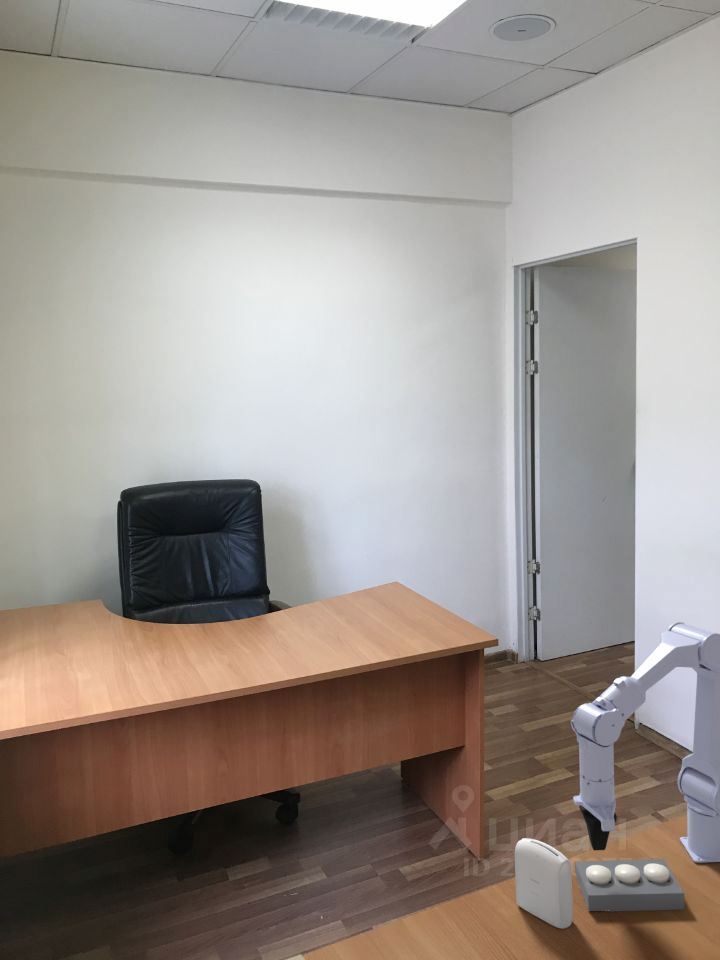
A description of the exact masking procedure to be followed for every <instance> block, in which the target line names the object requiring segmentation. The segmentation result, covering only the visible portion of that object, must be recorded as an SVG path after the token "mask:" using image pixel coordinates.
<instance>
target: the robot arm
mask: <svg viewBox="0 0 720 960" xmlns="http://www.w3.org/2000/svg"><path fill="white" fill-rule="evenodd" d="M659 641H660V642H659V645H658V646H657V647H656V649H654V651H652V653H651V654H650V655H649V656H648V657H647V658H646V659H645V660H644V662H643V663H642V664H641V665H640V666H638V668H637V669H636V670H635V671H634V673H632V675H631V676H625V675H623V676H619V677H617V678H615V679H614V681H613V683H612V684H611V685H609V687H608V688H606V689H605V691H603V692H602V693H601V694H600V695H599V696H598V697H596V698H595V700H593V701H592V702H588V703H583V704H581V705H579V706H578V707H577V708H576V709H575V711H574V713H573V717H572V719H571V720H570V725H571V729H572V730H573V732H574V733H575V734H576V742H577V743H578V752H579V754H578V756H579V757H578V758H579V760H578V761H579V788H580V789H579V795H574V796H572V797H573V798H572V799H573V803H574V804H575V806H578V808H579V810H580V812H581V815H582V817H583V819H584V822H585V825H586V829H587V833H588V838H589V842H590V845H591V848H592V850H593V851H605V850H606V849H607V845H608V841H609V836H610V833H611V832H615V830H616V827H615V826H616V822H617V819H618V816H617V814H616V812H615V811H616V805H617V803H616V802H617V800H616V797H615V763H614V762H615V760H614V759H615V753H614V750H615V747H614V743H615V742H617V740H619V738H620V735H621V732H622V729H623V728H624V726H625V724H626V721H627V719H629V718H630V717H631V716H632V715H633V714H634V713H635V712H636V711H637V710H638V709H639V708H640V707H641V706H643V704H644V703H645V702H646V697H647V696H646V692H647V691H648V690H650V689H651V688H652V687H653V686H654V685H656V684H658V682H660V681H661V680H662V679H663V678H664V677H666V676H667V675H669V674H670V673H671V672H672V671H673V670H675V669H676V668H692V670H694V671H695V672H696V687H695V688H696V689H695V708H694V709H695V710H694V728H693V745H692V746H693V747H692V753H689V754H688V755H686V756H685V757H684V758H682V759H681V760H682V761H681V769H680V771H679V773H678V775H677V783H676V784H677V787H678V790H679V792H680V793H681V794H682V795H683V799H684V801H685V802H686V803H687V804H686V806H687V815H686V817H687V827H686V828H687V829H686V830H687V831H686V832H687V836H681V837H679V841H680V842H681V844H682V846H683V847H684V849H685V850H686V851H687V853H688V855H689V856H690V858H691V859H692V861H693V862H694V863H697V864H698V863H720V633H718V632H711V631H709V630H705V629H702V628H699V627H695V626H691V625H689V624H685V622H682V621H675V622H673V623H671V624H670V625H669V626H668V627H667V629H666V630H665V631H663V632H662V633H661V634H660V640H659Z"/></svg>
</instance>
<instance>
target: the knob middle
mask: <svg viewBox="0 0 720 960" xmlns="http://www.w3.org/2000/svg"><path fill="white" fill-rule="evenodd" d="M615 877H616V879H617V880H619V881H620V883H627V884H634V883H637V882H639V880H640V871H639V869H638V868H636V867H634V866H632V865H628V864H621V865H618V866H616V868H615Z"/></svg>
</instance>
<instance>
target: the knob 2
mask: <svg viewBox="0 0 720 960" xmlns="http://www.w3.org/2000/svg"><path fill="white" fill-rule="evenodd" d="M644 877H645V878H646V879H647V880H649V882H655V883H664V882H667V881H668V880H669V870H668V869H667V868H666V867H665V866H663V865H660V864H655V863H652V864H647V865H645V866H644Z"/></svg>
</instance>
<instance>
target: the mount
mask: <svg viewBox="0 0 720 960" xmlns="http://www.w3.org/2000/svg"><path fill="white" fill-rule="evenodd" d="M652 863H655V864H660V865H663V866H665V867H666V868H667V869H668V870H669V880H668V881H667V882H664V883H655V882H649V880H647V879H646V878H645V877H644V866H645V865H647V864H652ZM621 864H628V865H632V866H634V867H636V868H638V869H639V871H640V880H639V882H637V883H634V884H627V883H620V881H619V880H617V879H616V877H615V868H616V866H618V865H621ZM592 865H601V866H604V867H606V868H608V869H609V870H610V871H611V881H610V882H609V883H607V884H603V885H599V884H591V882H590V881H589V880H588V879H587V878H586V869H587V868H588V867H589V866H592ZM575 874H576V877H577V880H576V882H577V881H578V883H579V885H578V887H579V886H580V888H579V890H580V889H581V891H582V893H581V895H582V894H583V896H584V899H585V901H584V903H585V902H586V904H585V906H586V905H587V906H586V908H587V907H588V909H587V912H588V911H606V910H607V911H608V910H609V912H638V911H639V912H640V911H643V912H644V911H646V912H647V911H680V910H681V911H682V910H685V892H684V891H683V888H682V887H681V885H680V884H679V882H678V880H677V878H676V877H675V875H674V873H673V871H672V870H671V868H670V866H669V865H668V863H667V861H666V859H665V858H649V859H647V858H646V859H645V858H644V859H642V858H641V859H617V860H616V859H612V860H611V859H610V860H608V859H607V860H580V861H579V860H576V861H574V875H575ZM578 883H577V884H578ZM581 891H580V892H581ZM583 896H582V897H583ZM584 899H583V900H584Z"/></svg>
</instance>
